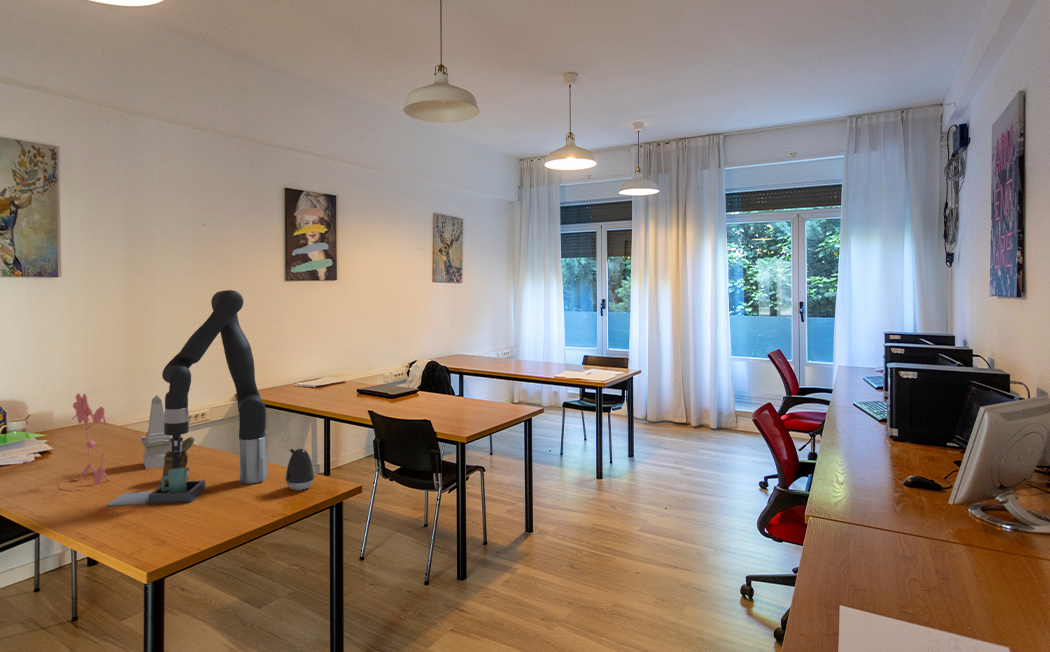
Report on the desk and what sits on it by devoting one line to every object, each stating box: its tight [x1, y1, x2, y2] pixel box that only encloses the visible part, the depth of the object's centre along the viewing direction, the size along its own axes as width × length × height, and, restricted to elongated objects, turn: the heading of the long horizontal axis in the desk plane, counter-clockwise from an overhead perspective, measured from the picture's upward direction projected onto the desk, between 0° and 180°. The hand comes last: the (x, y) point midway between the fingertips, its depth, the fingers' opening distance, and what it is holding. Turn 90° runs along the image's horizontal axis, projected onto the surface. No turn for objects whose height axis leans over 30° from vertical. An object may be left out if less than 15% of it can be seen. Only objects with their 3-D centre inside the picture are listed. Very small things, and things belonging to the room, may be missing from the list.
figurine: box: [59, 393, 110, 492], centre depth 212 cm, size 15×26×35 cm, turn 59°
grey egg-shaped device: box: [285, 448, 316, 491], centre depth 211 cm, size 10×10×15 cm
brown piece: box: [161, 436, 195, 482], centre depth 218 cm, size 9×14×18 cm, turn 69°
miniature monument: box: [140, 394, 172, 470], centre depth 238 cm, size 10×10×30 cm
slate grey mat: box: [106, 491, 153, 507], centre depth 198 cm, size 12×12×1 cm
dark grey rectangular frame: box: [148, 479, 206, 506], centre depth 201 cm, size 13×13×4 cm
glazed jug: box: [160, 467, 190, 493], centre depth 201 cm, size 9×6×10 cm, turn 121°
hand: (176, 464), depth 201 cm, fingers open, 8 cm apart
